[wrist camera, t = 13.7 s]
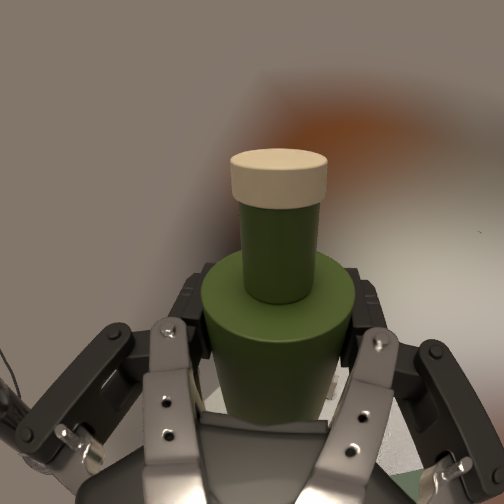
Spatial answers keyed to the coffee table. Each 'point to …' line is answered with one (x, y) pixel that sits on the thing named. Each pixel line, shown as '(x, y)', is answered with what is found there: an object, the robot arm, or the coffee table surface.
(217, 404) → the coffee table surface
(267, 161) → the olive bottle
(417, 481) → the pedestal
